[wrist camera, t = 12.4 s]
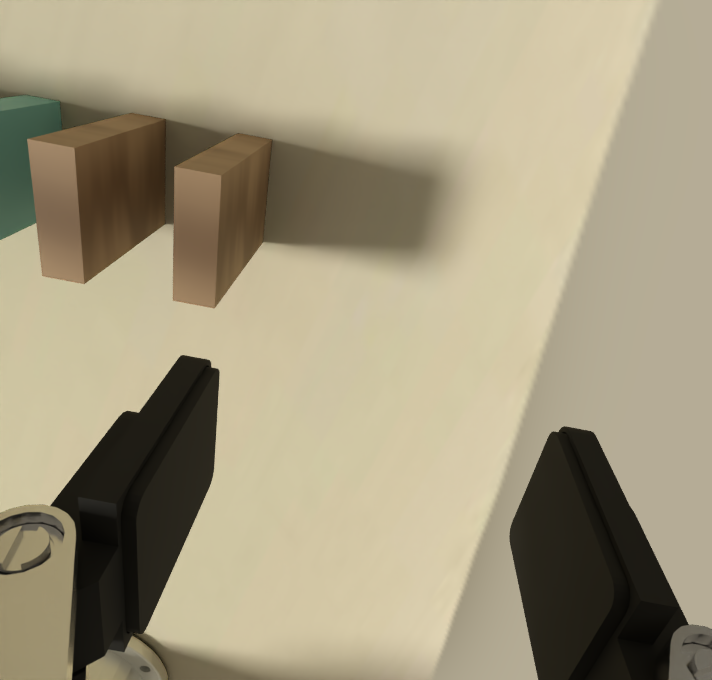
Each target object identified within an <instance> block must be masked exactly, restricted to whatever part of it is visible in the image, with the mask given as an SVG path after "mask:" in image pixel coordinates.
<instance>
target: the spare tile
mask: <svg viewBox="0 0 712 680" xmlns="http://www.w3.org/2000/svg"><path fill="white" fill-rule="evenodd" d="M61 130H62V123H61V111H60V101H55V100H50V99H45V98H39V97H34V96H29V95H21V96H13V97H6V98H0V240H1V239H3V238H6V237H8V236H10V235H12V234H14V233H16V232H18V231H20V230H22V229H24V228H26V227H28V226H31V225H33V224H35V223H36V214H35V205H34V196H33V187H32V178H31V169H30V160H29V151H28V142H27V139H29V138H33V137H37V136H41V135H45V134H49V133H53V132H57V131H61Z"/></svg>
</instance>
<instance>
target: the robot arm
mask: <svg viewBox="0 0 712 680" xmlns="http://www.w3.org/2000/svg"><path fill="white" fill-rule="evenodd" d="M218 391H219V370H218V369H216V368H211V362H210V360H206V359H201V358H196V357H190V356H185V355H182V356H180V357H179V359H178V360H177V361H176V363H175V364H174V365H173V367H172V368H171V370H170V371H169V372H168V374H167V375H166V376H165V378H164V379H163V381H162V382H161V383H160V385H159V386H158V387H157V389H156V390H155V391H154V393H153V394H152V396H151V397H150V398H149V400H148V401H147V402H146V404H145V405H144V407H143V408H142V409H141V411H140V412H139V413H137V412H131V411H126V412H123V413H122V414H121V415H120V416H119V418H118V419H117V420H116V421H115V423H114V424H113V425H112V427H111V428H110V429H109V430H108V432H107V433H106V434H105V436H104V437H103V438H102V440H101V441H100V442H99V443H98V445H97V446H96V447H95V449H94V450H93V451H92V452H91V454H90V455H89V456H88V458H87V459H86V460H85V462H84V463H83V464H82V465H81V467H80V468H79V469H78V471H77V472H76V473H75V474H74V476H73V477H72V478H71V480H70V481H69V482H68V484H67V485H66V486H65V487H64V489H63V490H62V491H61V493H60V494H59V495H58V496H57V498H56V499H55V500H54V502H53V503H52V504H51V505H50V506H48V505H24V506H20V507H16V508H11V509H8V510H6V511H4V512H1V513H0V680H168V676H167V672H166V669H165V667H164V665H163V663H162V662H161V660H160V658H159V657H158V656H157V655H156V654H155V653H154V652H153V650H152V649H150V648H149V647H148V646H147V645H146V644H144V643H143V642H142V641H140V640H139V639H137V638H136V637H134V636H132V635H133V633H138V634H142V633H143V632H144V631H145V630H146V628H147V626H148V623H149V621H150V619H151V617H152V615H153V612H154V610H155V608H156V606H157V603H158V601H159V599H160V597H161V594H162V592H163V590H164V588H165V585H166V583H167V581H168V579H169V576H170V574H171V572H172V570H173V567H174V565H175V563H176V561H177V559H178V556H179V554H180V552H181V550H182V547H183V545H184V543H185V541H186V538H187V536H188V534H189V532H190V529H191V527H192V525H193V523H194V520H195V518H196V516H197V514H198V511H199V509H200V507H201V505H202V503H203V500H204V498H205V496H206V494H207V491H208V489H209V487H210V484H211V481H212V477H213V472H214V459H215V442H216V425H217V408H218ZM510 545H511V550H512V554H513V560H514V564H515V569H516V574H517V579H518V584H519V588H520V593H521V598H522V603H523V608H524V613H525V617H526V622H527V627H528V632H529V637H530V642H531V646H532V651H533V656H534V661H535V666H536V670H537V675H538V680H712V629H710V628H708V627H705V626H699V625H689V624H688V622H687V620H686V618H685V616H684V614H683V612H682V610H681V608H680V606H679V604H678V602H677V600H676V598H675V596H674V594H673V592H672V589H671V587H670V585H669V583H668V581H667V579H666V577H665V575H664V573H663V571H662V569H661V567H660V565H659V563H658V560H657V558H656V556H655V554H654V552H653V550H652V548H651V546H650V544H649V542H648V540H647V538H646V536H645V534H644V532H643V530H642V528H641V525H640V523H639V521H638V519H637V517H636V515H635V513H634V512H633V510H632V509H631V507H630V506H629V504H628V502H627V500H626V497H625V495H624V493H623V491H622V489H621V487H620V485H619V483H618V481H617V479H616V477H615V475H614V473H613V470H612V469H611V466H610V464H609V462H608V460H607V458H606V456H605V454H604V452H603V450H602V448H601V446H600V444H599V441H598V440H597V438H596V436H595V434H594V433H593V432H591V431H587V430H581V429H576V428H571V427H562V428H561V429H560V430H559V432H552V433H551V434H550V435H549V437H548V439H547V442H546V444H545V446H544V449H543V451H542V453H541V456H540V458H539V461H538V463H537V465H536V468H535V470H534V472H533V475H532V477H531V479H530V482H529V484H528V487H527V489H526V491H525V494H524V496H523V498H522V501H521V503H520V505H519V508H518V510H517V512H516V515H515V517H514V519H513V522H512V525H511V528H510Z"/></svg>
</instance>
